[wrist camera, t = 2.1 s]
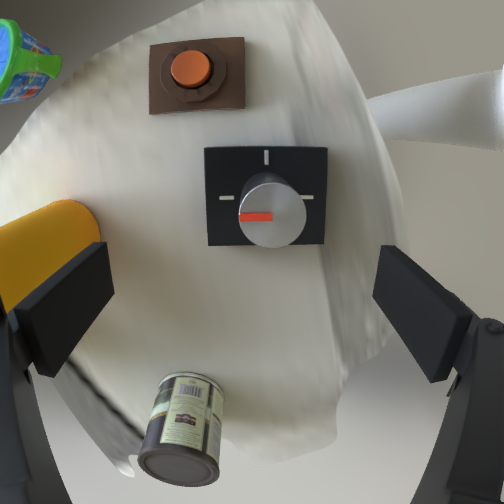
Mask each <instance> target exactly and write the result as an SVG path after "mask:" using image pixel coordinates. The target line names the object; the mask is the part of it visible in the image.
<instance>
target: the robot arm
mask: <svg viewBox="0 0 504 504" xmlns="http://www.w3.org/2000/svg"><path fill="white" fill-rule="evenodd" d="M114 294H115V292H114V287H113V281H112V275H111V269H110V262H109V255H108V248H107V242H93V243H91V244H90V245H89V246H87V247H86V248H85V249H83V250H82V251H81V252H80V253H78V254H77V255H76V256H75V257H73V258H72V259H71V260H69V261H68V262H67V263H66V264H64V265H63V266H62V267H61V268H59V269H58V270H57V271H56V272H55V273H53V274H52V275H51V276H50V277H49V278H47V279H46V280H45V281H44V282H43V283H41V284H40V285H39V286H38V287H37V288H35V289H34V290H33V291H31V292H30V293H29V294H28V295H27V296H26V297H25V298H23V299H22V301H20V302H19V303H18V304H17V305H16V306H14V307H13V308H12V309H11V310H10V311H9V312H8V313H7V314H6V311H5V308H4V304H3V301H2V298H1V295H0V504H72V502H71V500H70V497H69V495H68V493H67V490H66V488H65V486H64V483H63V481H62V478H61V476H60V473H59V471H58V468H57V466H56V462H55V460H54V457H53V454H52V451H51V448H50V445H49V442H48V439H47V436H46V432H45V429H44V426H43V422H42V418H41V415H40V411H39V407H38V403H37V399H36V395H35V390H34V385H33V381H32V376H31V373H30V371H29V369H28V367H29V365H30V364H31V363H32V362H33V363H34V365H35V368H36V370H37V372H38V374H40V375H44V376H48V377H52V378H54V377H55V376H56V374H57V373H58V371H59V370H60V368H61V367H62V365H63V364H64V362H65V361H66V359H67V358H68V356H69V355H70V354H71V352H72V351H73V349H74V348H75V346H76V345H77V344H78V342H79V341H80V339H81V338H82V337H83V335H84V334H85V332H86V331H87V330H88V328H89V327H90V326H91V324H92V323H93V321H94V320H95V319H96V317H97V316H98V315H99V313H100V312H101V311H102V309H103V308H104V307H105V305H106V304H107V303H108V301H109V300H110V299H111V297H112V296H113V295H114ZM372 297H373V298H374V300H375V301H376V303H377V304H378V305H379V307H380V308H381V310H382V311H383V312H384V314H385V315H386V317H387V318H388V320H389V321H390V322H391V324H392V325H393V327H394V328H395V330H396V331H397V333H398V334H399V336H400V337H401V339H402V340H403V341H404V343H405V345H406V346H407V347H408V349H409V351H410V352H411V354H412V355H413V357H414V358H415V360H416V361H417V363H418V364H419V366H420V367H421V369H422V371H423V372H424V374H425V375H426V377H427V379H428V380H429V382H430V383H434V382H439V381H443V380H446V379H447V378H448V376H449V374H450V372H451V369H452V367H454V368H455V369H456V371H457V372H458V374H457V376H456V378H455V380H454V382H453V384H452V386H451V388H450V390H449V392H448V394H447V397H449V396H450V398H449V402H448V405H447V409H446V412H445V416H444V419H443V422H442V426H441V428H440V432H439V435H438V438H437V440H436V443H435V446H434V449H433V451H432V455H431V457H430V459H429V462H428V464H427V467H426V470H425V472H424V474H423V477H422V479H421V481H420V484H419V486H418V488H417V490H416V493H415V495H414V497H413V499H412V501H411V503H410V504H504V502H501V500H500V497H501V491H502V486H503V481H504V324H503V323H501V322H500V321H498V320H495V319H491V318H483V319H480V318H479V317H478V316H477V315H476V314H475V313H474V312H473V311H472V310H471V309H470V308H469V307H468V306H466V305H465V304H464V303H463V302H462V301H460V299H459V298H458V297H457V296H456V295H455V294H454V293H452V292H450V291H448V290H446V289H445V288H444V287H443V286H442V285H441V284H440V283H438V282H437V281H436V280H435V279H434V278H433V277H432V276H430V275H429V274H428V273H427V272H426V271H425V270H424V269H422V268H421V267H420V266H419V265H418V264H417V263H415V262H414V261H413V260H412V259H411V258H409V257H408V256H407V255H406V254H405V253H403V252H402V251H401V250H400V249H398V248H397V247H396V246H392V245H381V250H380V256H379V262H378V268H377V274H376V279H375V285H374V290H373V295H372Z"/></svg>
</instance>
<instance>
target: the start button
mask: <svg viewBox="0 0 504 504" xmlns="http://www.w3.org/2000/svg"><path fill="white" fill-rule="evenodd" d="M171 72H172V75H173V77H174V79H175V80H176V81H178V82H179V83H180V84H181V85H183V86H186V87H197V86H200V85H202V84H203V83H205V82H206V81H207V80H208V78H209V76H210V74H211V65H210V62H209V60H208V58H207V57H206V56H205V55H204V54H203V53H202V52H200V51H196V50H188V51H185V52H182V53H181V54H179V55H178V56H177V57H176V58H175V59H174V61H173V63H172V67H171Z"/></svg>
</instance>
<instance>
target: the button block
mask: <svg viewBox="0 0 504 504" xmlns="http://www.w3.org/2000/svg"><path fill="white" fill-rule="evenodd" d="M188 50H196V51H200V52H202V53H203V54H204V55H205V56H206V57H207V58H208V60H209V62H210V65H211V74H210V76H209V78H208V80H207V81H206V82H205V83H203V84H202V85H200V86H197V87H186V86H183V85H181V84H180V83H179V82H178V81H176V80H175V79H174V77H173V75H172V72H171V67H172V63H173V61H174V59H175V58H176V57H177V56H178V55H179V54H181V53H182V52H185V51H188ZM224 109H245V49H244V37H231V38H212V39H199V40H189V41H179V42H171V43H164V44H157V45H151V46H150V56H149V114H150V115H158V114H167V113H178V112H190V111H204V110H224Z"/></svg>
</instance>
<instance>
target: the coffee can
mask: <svg viewBox="0 0 504 504" xmlns="http://www.w3.org/2000/svg"><path fill="white" fill-rule="evenodd" d="M223 403H224V395H223V392H222V390H221V389H220V387H219V386H218V385H217V384H216V383H215V382H213V381H212V380H210V379H209V378H207V377H205V376H202V375H199V374H195V373H186V372H182V373H175V374H171V375H169V376H167V377H166V378H164V379H163V380H162V381H161V383H160V385H159V389H158V393H157V397H156V400H155V403H154V407H153V410H152V414H151V417H150V421H149V424H148V427H147V431H146V434H145V437H144V441H143V445H142V449H141V452H140V453H139V455H138V459H137V461H138V464H139V466H140V467H141V468H142V469H143V471H145V472H146V473H147V474H149V475H150V476H152V477H154V478H156V479H158V480H160V481H163V482H166V483H169V484H173V485H177V486H185V487H200V486H206V485H209V484H212V483H213V482H215V481H216V480H217V479H218V478H219V455H220V440H221V426H222V413H223Z"/></svg>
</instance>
